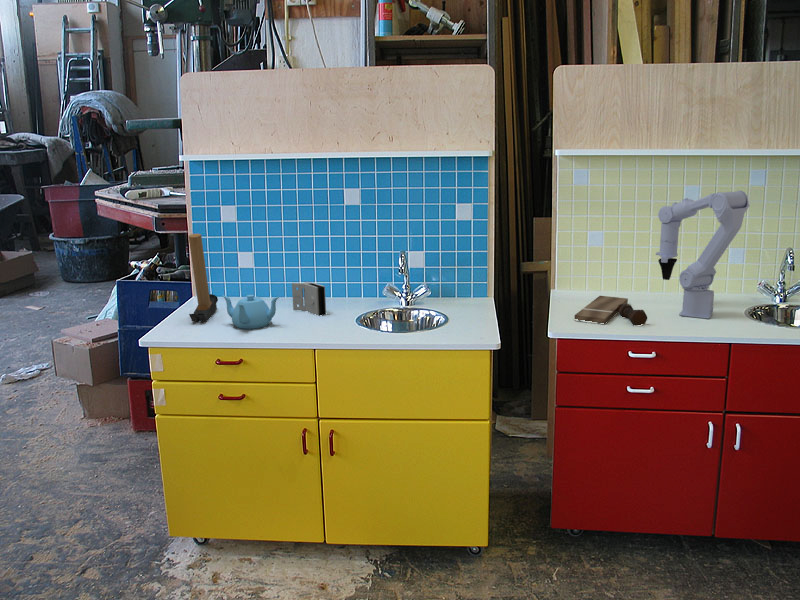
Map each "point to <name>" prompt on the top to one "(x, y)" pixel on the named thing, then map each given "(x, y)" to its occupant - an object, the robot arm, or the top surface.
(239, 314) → the teapot
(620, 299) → the plank
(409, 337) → the top surface
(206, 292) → the hammer
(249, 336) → the top surface
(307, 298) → the hinge
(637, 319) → the bolt
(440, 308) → the top surface
